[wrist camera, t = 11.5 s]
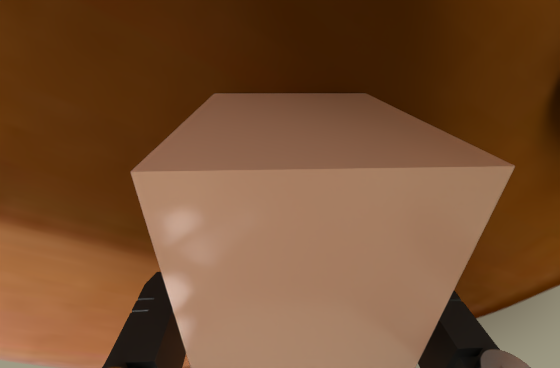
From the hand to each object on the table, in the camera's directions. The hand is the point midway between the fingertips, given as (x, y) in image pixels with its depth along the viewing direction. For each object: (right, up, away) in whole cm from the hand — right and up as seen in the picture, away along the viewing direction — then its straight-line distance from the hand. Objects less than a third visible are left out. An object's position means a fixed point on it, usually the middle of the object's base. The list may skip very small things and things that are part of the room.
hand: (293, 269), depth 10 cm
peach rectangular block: (0, +2, +3) cm, 3 cm away
